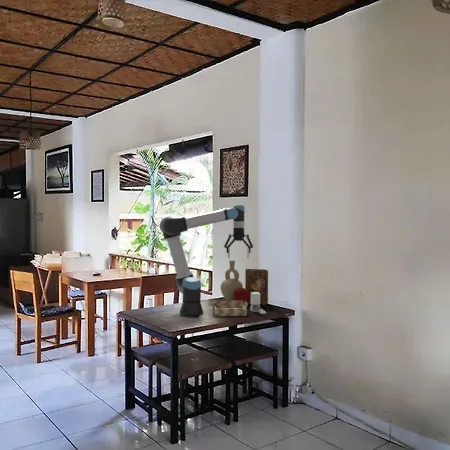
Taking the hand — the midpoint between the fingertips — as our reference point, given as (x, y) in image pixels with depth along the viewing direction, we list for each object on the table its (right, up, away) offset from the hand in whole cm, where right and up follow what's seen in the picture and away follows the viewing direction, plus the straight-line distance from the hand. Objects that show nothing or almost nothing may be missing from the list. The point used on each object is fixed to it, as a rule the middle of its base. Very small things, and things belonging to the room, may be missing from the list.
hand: (238, 258), depth 337 cm
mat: (+11, -35, -12) cm, 39 cm away
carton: (-7, -35, -23) cm, 43 cm away
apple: (+2, -35, +10) cm, 36 cm away
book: (+13, -35, +16) cm, 40 cm away
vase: (-4, -34, +26) cm, 43 cm away
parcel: (+11, -35, -12) cm, 38 cm away
